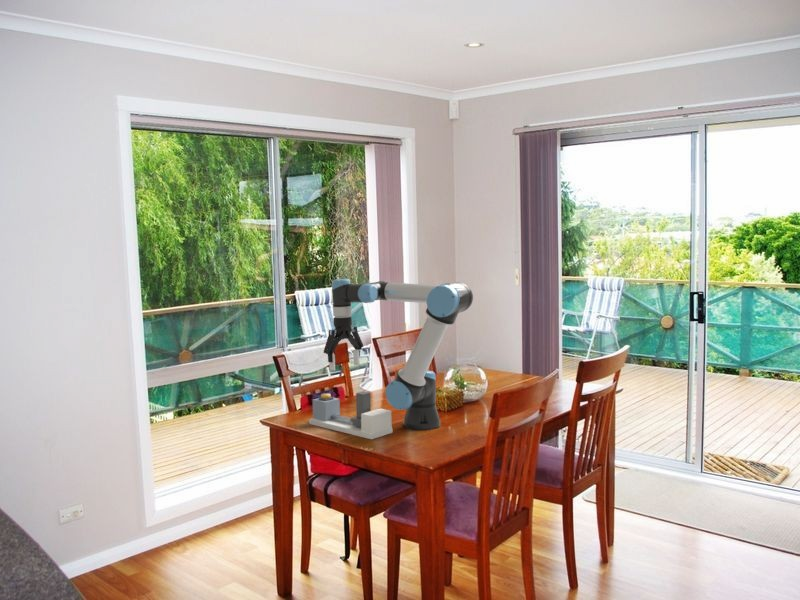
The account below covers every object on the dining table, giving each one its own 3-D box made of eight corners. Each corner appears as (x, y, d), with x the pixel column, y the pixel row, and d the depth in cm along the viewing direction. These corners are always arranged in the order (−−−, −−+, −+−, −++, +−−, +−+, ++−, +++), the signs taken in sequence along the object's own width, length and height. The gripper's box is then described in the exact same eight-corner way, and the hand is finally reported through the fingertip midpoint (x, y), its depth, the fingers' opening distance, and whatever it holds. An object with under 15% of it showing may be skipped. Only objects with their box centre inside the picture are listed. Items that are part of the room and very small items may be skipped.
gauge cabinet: (340, 417, 305) (339, 398, 305) (325, 421, 299) (325, 402, 299) (327, 414, 311) (326, 396, 310) (313, 418, 305) (312, 399, 304)
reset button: (333, 406, 305) (333, 394, 304) (325, 407, 302) (325, 396, 301) (326, 404, 307) (326, 393, 307) (319, 406, 304) (318, 394, 304)
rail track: (392, 432, 289) (392, 410, 288) (371, 439, 280) (371, 416, 279) (330, 418, 312) (330, 397, 311) (309, 423, 303) (309, 402, 302)
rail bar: (372, 427, 289) (372, 422, 288) (369, 428, 287) (369, 423, 287) (334, 418, 303) (334, 414, 303) (331, 419, 302) (331, 415, 301)
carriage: (377, 424, 291) (376, 392, 290) (363, 429, 285) (362, 395, 284) (364, 421, 296) (363, 389, 294) (350, 426, 290) (349, 393, 288)
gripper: (358, 313, 310) (360, 362, 312) (313, 319, 292) (315, 371, 294) (370, 313, 305) (372, 363, 307) (325, 320, 287) (328, 373, 289)
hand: (344, 367), depth 300 cm, fingers open, 13 cm apart
